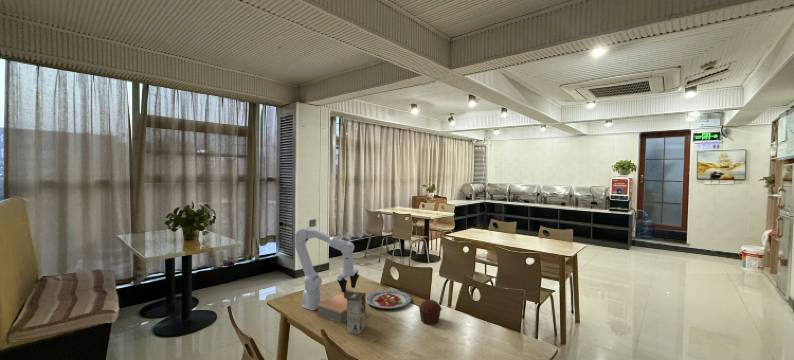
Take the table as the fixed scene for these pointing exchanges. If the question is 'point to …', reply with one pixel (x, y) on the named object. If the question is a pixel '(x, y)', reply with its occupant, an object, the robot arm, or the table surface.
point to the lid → (337, 302)
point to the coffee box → (356, 312)
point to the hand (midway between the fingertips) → (348, 289)
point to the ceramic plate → (388, 299)
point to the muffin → (430, 312)
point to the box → (332, 314)
